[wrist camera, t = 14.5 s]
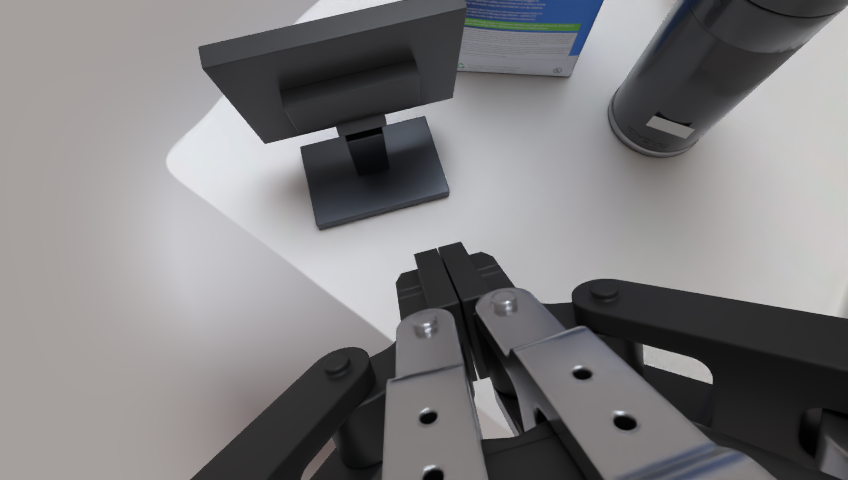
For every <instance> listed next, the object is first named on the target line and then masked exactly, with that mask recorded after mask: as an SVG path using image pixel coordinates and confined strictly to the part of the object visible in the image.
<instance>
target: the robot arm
mask: <svg viewBox="0 0 848 480" xmlns="http://www.w3.org/2000/svg"><path fill="white" fill-rule="evenodd" d="M847 6H848V0H677V1H676V3H675V4H674V6H673V7H672V9H671V10H670V12H669V13H668V15H667V17H666V18H665V20H664V21H663V23H662V24H661V26H660V27H659V29H658V30H657V32H656V33H655V35H654V36H653V38H652V40H651V41H650V43H649V44H648V46H647V47H646V49H645V50H644V52H643V53H642V55H641V56H640V58H639V59H638V61H637V62H636V64H635V66H634V67H633V68H632V70H631V71H630V73H629V74H628V76H627V77H626V79H625V81H624V82H623V84H622V85H621V86H620V87H619V88H618V90H617V91H616V93H615V94H614V96H613V97H612V99H611V102H610V105H609V120H610V123H611V126H612V128H613V130H614V132H615V133H616V135H617V136H618V137H619V138H620V139H621V140H622V141H623V142H624V143H625V144H626V145H627V146H629V147H630V148H632V149H634V150H635V151H637V152H640V153H642V154H645V155H649V156H654V157H670V156H675V155H678V154H681V153H683V152H685V151H686V150H688V149H689V148H690V147H692V146H693V145H694V144H695V143H696V142H697V141H698V140H699V138H700V137H701V136H702V135H704V134H705V133H706V132H707V131H708V130H709V129H710V128H711V127H713V126H714V125H715V124H716V123H717V122H718V121H720V120H721V119H722V118H723V117H724V116H725V115H726V114H727V113H728V112H730V111H731V110H732V109H733V108H734V107H735V106H736V105H737V104H738V103H740V102H741V101H742V100H743V99H744V98H745V97H746V96H747V95H749V94H750V93H751V92H752V91H753V90H754V89H755V88H756V87H757V86H759V85H760V84H761V83H762V82H763V81H764V80H765V79H766V78H768V77H769V76H770V75H771V74H772V73H773V72H774V71H775V70H776V69H778V68H779V67H780V66H781V65H782V64H783V63H784V62H785V61H787V60H788V59H789V58H790V57H791V56H792V55H793V54H794V53H795V52H797V51H798V50H799V49H800V48H801V47H802V46H803V45H804V44H806V43H807V42H808V41H809V40H810V39H811V38H812V37H813V36H814V35H815V34H816V33H817V32H819V31H820V30H821V29H822V28H823V27H824V26H825V25H826V24H828V23H829V22H830V21H831V20H832V19H833V18H834V17H835V16H837V15H838V14H839V13H840V12H841V11H842V10H843V9H844V8H845V7H847ZM438 251H439V253H438ZM438 251H437V249H436V248H435V249H432V250H428V251H424V252H420V253H417V254H414V256H415V260H416V264H417V268H418V269H416V270H413V271H409V272H405V273H401V275H400V277H399V278H398V280H397V282H396V288H397V295H398V303H399V310H400V317H401V322H400V324H399V325H398V327H397V331H396V341H395V343H394V344H392V345H391V346H390V347H388V348H387V349H386V350H384V351H382V352H380V353H378V354H376V355H374V356H372V357H370V358H369V355H368V353H367V352H366V351H365V350H363V349H361V348H356V347H348V348H343V349H339V350H336V351H333V352H331V353H329V354H327V355H325V356H324V357H322V358H321V359H319V360H318V361H317V362H316V363H315V364H314V365H313V366H311V367H310V368H309V369H308V370H307V371H306V372H305V373H304V374H303V375H302V376H301V377H300V378H299V379H298V380H296V381H295V382H294V383H293V384H292V385H291V386H290V387H289V388H288V389H287V390H286V391H285V392H284V393H283V394H282V395H280V396H279V397H278V398H277V399H276V400H275V401H274V402H273V403H272V404H271V405H270V406H269V407H268V408H267V409H266V410H264V411H263V412H262V413H261V414H260V415H259V416H258V417H257V418H256V419H255V420H254V421H253V422H251V423H250V424H249V425H248V426H247V427H246V428H245V429H244V430H243V431H242V432H241V433H240V434H239V435H238V436H237V437H235V438H234V439H233V440H232V441H231V442H230V443H229V444H228V445H227V446H226V447H225V448H224V449H223V450H222V451H220V452H219V453H218V454H217V455H216V456H215V457H214V458H213V459H212V460H211V461H210V462H209V463H208V464H207V465H205V466H204V467H203V468H202V469H201V470H200V471H199V472H198V473H197V474H196V475H195V476H194V477H193V478H192V479H190V480H301V477H302V474H303V471H304V470H305V468H306V467H307V465H308V464H309V463H310V462H311V461H312V459H313V458H314V457H315V456H316V455H317V453H318V452H319V451H320V450H321V449H322V447H323V446H324V445H325V444H326V443H327V442H328V441H329V439H330V438H331V437H332V438H333V441H334V443H335V446H336V448H335V450H334V451H333V452H332V453H331V454H330V456H329V457H328V458H327V459H326V460H325V462H324V463H323V464H322V465H321V467H320V468H319V469H318V470H317V471H316V473H315V474H314V475H313V476H312V477H311V479H310V480H848V319H845V318H839V317H834V316H828V315H822V314H816V313H810V312H804V311H798V310H792V309H787V308H781V307H775V306H769V305H763V304H757V303H751V302H746V301H740V300H734V299H728V298H722V297H716V296H710V295H705V294H699V293H693V292H687V291H681V290H675V289H669V288H664V287H658V286H652V285H646V284H640V283H634V282H628V281H623V280H616V279H596V280H591V281H588V282H585V283H582V284H580V285H579V286H577V287H576V288H575V289H574V290H573V292H572V302H571V303H558V304H542V303H540V302H539V301H538V300H537V299H536V298H535V297H534V296H533V295H532V294H531V293H530V292H528V291H526V290H523V289H519V288H515V286H514V285H513V284H512V282H511V281H510V279H509V278H508V277H507V275H506V274H505V273H504V271H503V270H502V269H501V267H500V266H499V265H498V263H497V262H496V260H495V259H494V258H493V256H490V255H488V254H486V253H483V252H479V253H475V254H471V255H469V254H468V253H467V251H466V249H465V248H464V246H463V244H462V243H461V242H457V243H454V244H450V245H446V246H442V247H439V248H438ZM643 344H644V345H648V346H651V347H655V348H659V349H663V350H666V351H670V352H674V353H678V354H681V355H685V356H689V357H692V358H695V359H697V360H699V361H700V362H702V363H703V364H705V365H706V366H707V367H708V369H709V370H710V371H711V373H712V376H713V384H709V383H705V382H702V381H699V380H695V379H692V378H688V377H685V376H682V375H678V374H675V373H672V372H668V371H665V370H662V369H658V368H655V367H652V366H648V365H645V364H644V361H643ZM473 362H474V363H473ZM474 365H475V367H474ZM475 368H476V370H477V373H478V375H479V378H480V379H484V378H487V377H490V379H491V381H492V385H493V389H494V394H495V398H496V401H497V403H498V405H499V407H500V409H501V411H502V413H503V415H504V417H505V419H506V421H507V422H508V424H509V426H510V428H511V430H512V432H513V434H514V436H515V437H511V438H498V439H483V437H482V433H481V428H480V424H479V419H478V415H477V411H476V406H475V402H474V396H475V391H474V387H473V383H472V382H473V381H477V376H476V372H475Z"/></svg>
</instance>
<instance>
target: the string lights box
mask: <svg viewBox="0 0 848 480" xmlns="http://www.w3.org/2000/svg"><path fill="white" fill-rule="evenodd" d="M603 1H604V0H465V2H466V5H467V12H466V18H465V24H464V31H463V37H462V43H461V49H460V55H459V61H458V67H457V71H477V72H494V73H513V74H531V75H550V76H570V75H571V74H572V71H573V69H574V66H575V64H576V61H577V59H578V57H579V55H580V52H581V50H582V48H583V46H584V44H585V41H586V39H587V37H588V35H589V32H590V30H591V28H592V26H593V23H594V21H595V19H596V17H597V14H598V12H599V10H600V8H601V5H602V3H603Z"/></svg>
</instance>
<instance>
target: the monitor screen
mask: <svg viewBox="0 0 848 480" xmlns="http://www.w3.org/2000/svg"><path fill="white" fill-rule="evenodd" d="M466 12H467V5H466V2H465V0H402V1H398V2H393V3H389V4H384V5H380V6H376V7H371V8H367V9H362V10H358V11H354V12H349V13H345V14H340V15H336V16H331V17H327V18H323V19H318V20H314V21H309V22H305V23H301V24H296V25H292V26H287V27H283V28H279V29H274V30H270V31H265V32H261V33H257V34H253V35H248V36H243V37H239V38H235V39H230V40H226V41H221V42H217V43H212V44H208V45H204V46H200V47H199V48H198V49H199V54H200V59H201V64H202V68H203V70H204V71H205V72H206V73H207V75H208V76H209V77H210V78H211V79H212V81H213V82H214V83H215V84H216V85H217V87H218V88H219V89H220V90H221V92H222V93H223V94H224V95H225V96H226V98H227V99H228V100H229V101H230V102H231V104H232V105H233V106H234V107H235V108H236V110H237V111H238V112H239V113H240V114H241V116H242V117H243V118H244V119H245V120H246V122H247V123H248V124H249V125H250V126H251V128H252V129H253V130H254V131H255V132H256V134H257V135H258V136H259V137H260V139H261V140H262V141H263V142H264V143H265V144H267V143H271V142H275V141H279V140H283V139H287V138H292V137H296V136H300V135H304V134H308V133H312V132H316V131H320V130H324V129H328V128H332V127H336V128H337V132H338V135H339V137H342V136H346V135H350V134H354V133H358V132H362V131H366V130H370V129H374V128H378V127H382V126H386V125H387V123H386V118H385V114H389V113H393V112H397V111H401V110H405V109H409V108H413V107H417V106H421V105H425V104H430V103H434V102H438V101H442V100H446V99H450V98H453V92H454V86H455V80H456V73H457V67H458V61H459V55H460V49H461V43H462V37H463V31H464V24H465V18H466Z"/></svg>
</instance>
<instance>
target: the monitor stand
mask: <svg viewBox="0 0 848 480" xmlns="http://www.w3.org/2000/svg"><path fill="white" fill-rule="evenodd" d="M300 149H301V154H302V158H303V163H304V168H305V172H306V177H307V182H308V187H309V191H310V196H311V201H312V205H313V210H314V215H315V219H316V224H317V226H318V228H319V229H320V230H322V229H326V228H329V227H333V226H337V225H341V224H345V223H348V222H352V221H356V220H360V219H363V218H367V217H371V216H375V215H379V214H382V213H386V212H390V211H394V210H398V209H401V208H405V207H409V206H413V205H417V204H420V203H424V202H428V201H432V200H436V199H439V198H443V197H447V196H449V188H448V185H447V182H446V178H445V175H444V172H443V169H442V166H441V163H440V160H439V157H438V154H437V151H436V148H435V145H434V142H433V139H432V136H431V133H430V130H429V127H428V124H427V121H426V118H425V116H422V117H418V118H414V119H410V120H406V121H402V122H398V123H394V124H390V125H386V126H382V127H378V128H374V129H370V130H366V131H362V132H358V133H354V134H350V135H346V136H342V137H338V138H334V139H330V140H326V141H322V142H318V143H314V144H310V145H306V146H302V147H300Z"/></svg>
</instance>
